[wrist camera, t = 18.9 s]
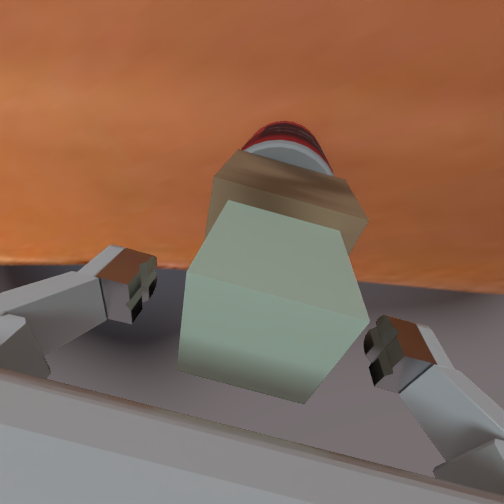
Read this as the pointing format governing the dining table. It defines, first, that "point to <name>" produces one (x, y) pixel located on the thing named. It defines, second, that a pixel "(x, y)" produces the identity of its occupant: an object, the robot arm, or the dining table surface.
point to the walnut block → (287, 194)
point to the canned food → (289, 146)
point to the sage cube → (269, 304)
